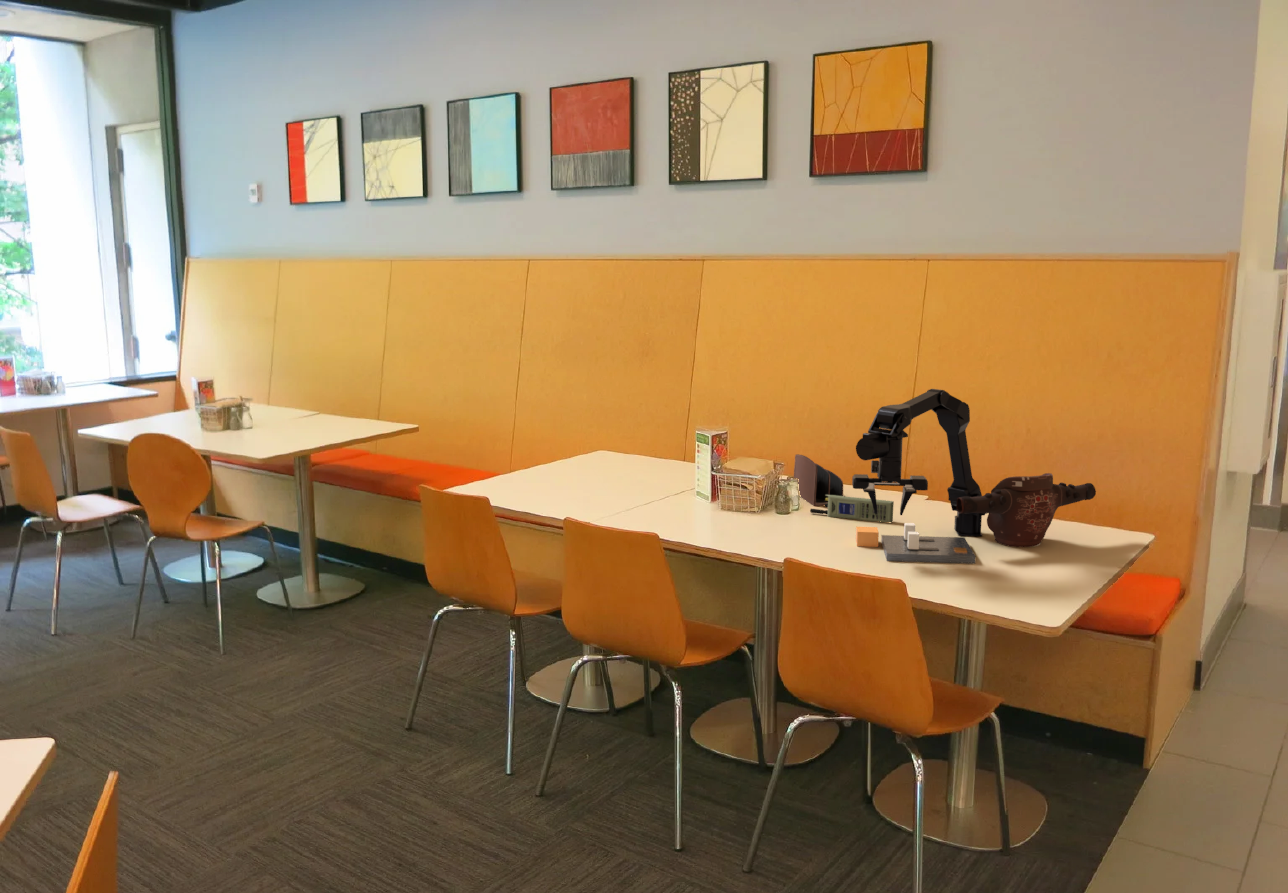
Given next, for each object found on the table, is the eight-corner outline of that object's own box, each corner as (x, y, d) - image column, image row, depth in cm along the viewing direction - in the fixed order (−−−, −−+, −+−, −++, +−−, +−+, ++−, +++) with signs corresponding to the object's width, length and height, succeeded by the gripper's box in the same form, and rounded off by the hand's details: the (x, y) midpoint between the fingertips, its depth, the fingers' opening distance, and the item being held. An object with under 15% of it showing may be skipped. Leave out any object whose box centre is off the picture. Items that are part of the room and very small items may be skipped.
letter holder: (813, 506, 330) (814, 462, 327) (792, 493, 349) (793, 451, 346) (843, 505, 331) (844, 461, 329) (821, 491, 351) (822, 450, 348)
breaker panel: (964, 544, 285) (964, 536, 284) (975, 563, 267) (975, 555, 267) (881, 542, 288) (881, 534, 288) (886, 560, 270) (887, 552, 270)
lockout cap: (876, 541, 289) (877, 527, 288) (878, 546, 283) (878, 532, 283) (855, 540, 290) (856, 526, 289) (857, 546, 284) (857, 531, 284)
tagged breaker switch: (917, 546, 275) (918, 531, 274) (918, 549, 272) (919, 534, 272) (907, 546, 275) (907, 531, 275) (908, 549, 273) (908, 534, 272)
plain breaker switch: (913, 537, 284) (914, 523, 283) (914, 540, 281) (915, 525, 281) (903, 537, 284) (904, 522, 283) (904, 539, 282) (905, 525, 281)
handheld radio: (890, 524, 307) (808, 515, 319) (893, 522, 310) (811, 513, 321) (891, 502, 306) (809, 494, 318) (894, 500, 309) (812, 492, 321)
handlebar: (1071, 530, 299) (1075, 461, 295) (1105, 541, 287) (1110, 469, 284) (940, 546, 283) (943, 474, 279) (970, 559, 271) (974, 483, 268)
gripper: (924, 450, 277) (921, 508, 280) (852, 449, 280) (850, 506, 282) (929, 458, 266) (926, 518, 269) (854, 457, 269) (852, 516, 272)
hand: (888, 514), depth 273 cm, fingers open, 6 cm apart
